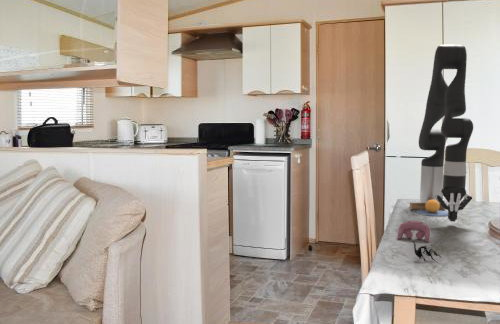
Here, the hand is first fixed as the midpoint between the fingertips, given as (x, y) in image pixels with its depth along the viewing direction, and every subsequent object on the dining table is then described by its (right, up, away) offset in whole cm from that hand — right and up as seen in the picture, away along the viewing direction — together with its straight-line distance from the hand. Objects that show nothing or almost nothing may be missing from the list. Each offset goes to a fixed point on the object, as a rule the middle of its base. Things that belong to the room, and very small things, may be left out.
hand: (452, 221), depth 181 cm
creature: (-24, -6, -43) cm, 50 cm away
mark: (+1, +1, +22) cm, 22 cm away
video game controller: (-21, -4, -20) cm, 29 cm away
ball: (+1, +3, +22) cm, 22 cm away
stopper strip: (+2, +1, +30) cm, 30 cm away
